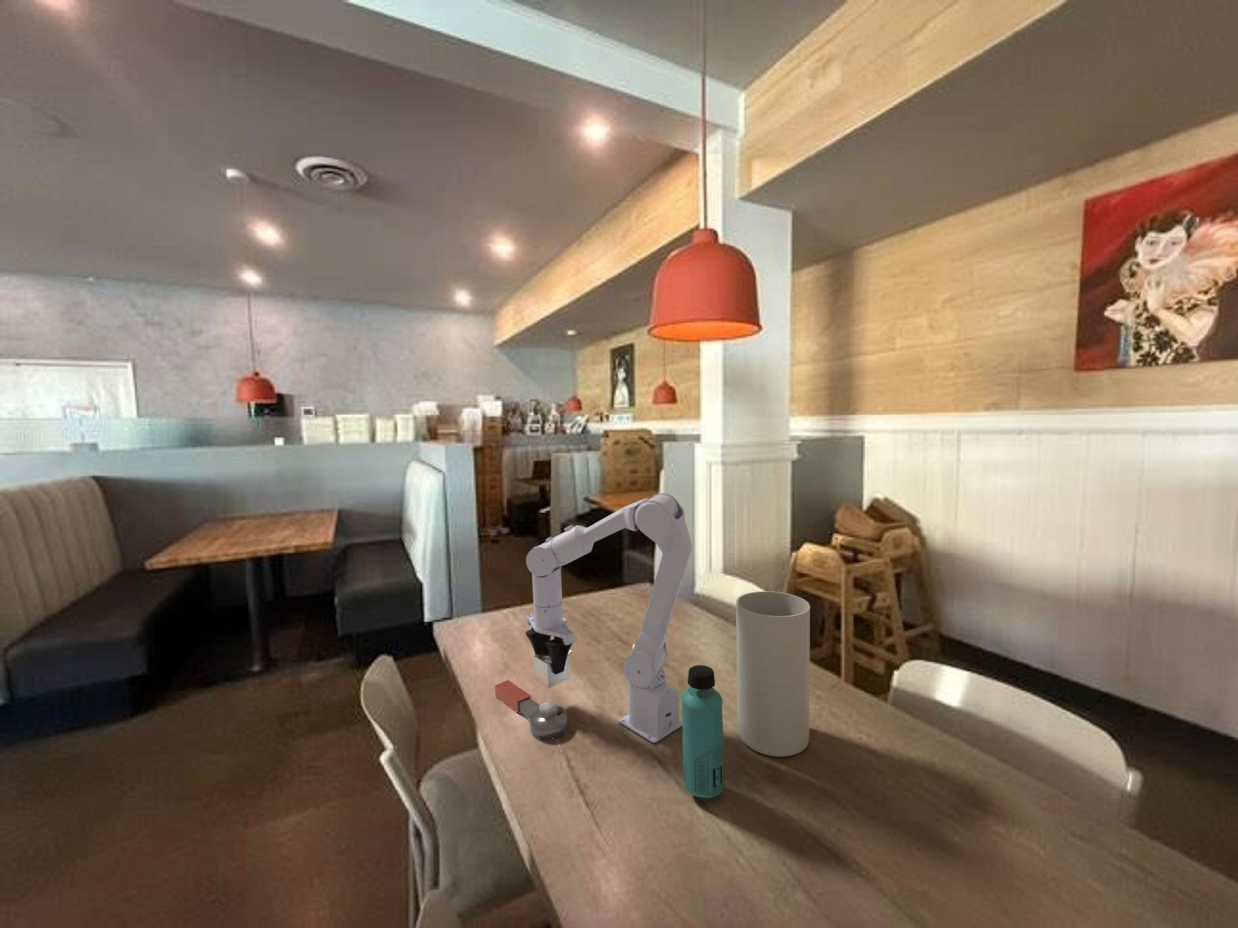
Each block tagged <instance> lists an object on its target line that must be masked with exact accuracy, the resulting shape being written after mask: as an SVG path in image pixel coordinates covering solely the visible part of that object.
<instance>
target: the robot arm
mask: <svg viewBox="0 0 1238 928" xmlns="http://www.w3.org/2000/svg"><path fill="white" fill-rule="evenodd" d="M624 529H627V530H628V531H633V532H637V531H638V530H639V531H640V532H641V533H642V534H644V535H645V536H646V537H647V538H649V539H650V540H651V541H652V542H654V543H655V544H656V546H657V547H658V549H659V551H660V552H661V554H662V555H661V558H660V562H659V566H658V570H657V572H656V573H657V574H656V577H655V580H654V583H653V587H652V590H651V594H650V598H649V601H648V605H647V608H646V611H645V614H644V619H643V622H642V625H641V627H640V628H641V629H640V632H639V634H638V637H637V639H636V641H635V643H634V644H635V646H634V649H633V648H632V652H631V653H630V654H629V656H627V657H626V659H625V660H624V663H623V665H622V666H623V667H622V668H623V669H622V670H623V676H624V678H625V679H626V680H627V705H628V706H627V707H628V709H627V710H628V714H626V715H625V716H623V717H621V718H619V719H618V723H620V724H621V725H623V726H625V728H628V729H630V730H631V731H632V732H634V733H636V734H638V736H641V737H642V738H644V739H645V740H647V741H649V742H650V743H651V744H656V743H657V742H659V741H661V740H662V739H664V738H666V737H667V736H668V735H670V734H672V733H673V732H675V730H677V729H679V728H681V727H682V721H680V709H679V708H680V701H679V700H680V699H679V694H678V692H677V690H676V688H675V689H674V687H672V686H671V685H670V683H668V681H667V678H666V674H665V669H664V667H663V664H664V663H665V661H666V660H667V658H668V648H667V639H668V630H669V628H670V624H671V620H672V617H673V614H674V610H675V606H676V603H677V601H678V597H679V595H680V594H679V592H680V590H681V586H682V583H683V579H684V577H685V573H686V570H687V566H688V562H689V559H690V556H691V552H692V549H693V548H692V547H693V545H692V541H691V537H690V533H689V530H688V527H687V522H686V517H685V509H684V508H683V506H681V504H680V503H679V501H678V500H677V499H676V497H674V495H671V494H669V493H666V492H660V493H656V494H654V495H652V497H650V498H649V497H647V498H644V499H640V500H638V501H636V502H633V503H630V504H627V505H626V506H624V507H621V508H620V509H618V510H617V511H615V512H613V513H611V514H610V515H608V516H606V517H604V518H602V519H600V520H598V521H597V522H595V523H594V524H592V525H590V526H588V527H585V526H583V525H575V526H573V525H572V524H571V525H569V526H566V527H565V528H564V529H563V530H564V532H562V533H560V534H558V535H556V536H554V537H553V536H549V537H548V538H546V539H545V542H543V543H541V544H539V545H537V546H534V547H533V548H532V549H531V550H530V551H529V552H528V553H527V555H526V558H525V559H526V560H525V563H526V567H527V568H528V570H529V571H528V572H530V573H531V574H532V575H531V577H532V578H531V579H532V599H533V613H530V614H527V615H525V625H527V626H531V628H530V629H529V630H526V631H525V635H526V637H527V638H528V640H529V642H530V644H531V646H532V648H533V652H534V655H537V654H540V653H542V652H545V651H547V650H549V653H550V656H551V662H552V669H553V673H554V674H555V675H557V674H559V673H561V672H564V668H565V663H566V659H567V655H568V652H569V650H571V648H572V646H573V645H574V643H576V640H575V632H573V631H572V630H571V629H570V628H569V626H568V625H567V623H568V619H567V618H565V617H564V615H563V614H564V610H563V589H562V586H563V585H562V566H565V565H568V564H569V563H572V562H573V561H575V560H577V559H579V558H581V557H583V556H585V555H587V554H589V553H591V552H592V550H593V547H594V545H595V542H598V541H600V540H602V539H604V538H606V537H608V536H610V535H613V534H615V533H616V532H619V531H622V530H624ZM551 636H552V637H553V639H552V638H551ZM568 656H569V655H568Z"/></svg>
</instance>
